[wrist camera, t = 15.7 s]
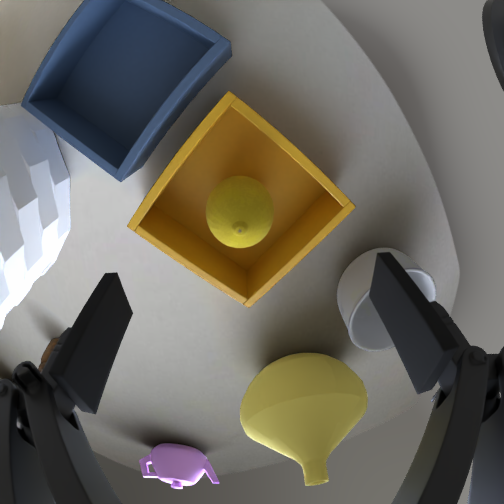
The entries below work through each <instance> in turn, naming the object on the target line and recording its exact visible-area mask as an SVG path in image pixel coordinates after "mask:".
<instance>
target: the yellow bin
mask: <svg viewBox="0 0 504 504" xmlns="http://www.w3.org/2000/svg"><path fill="white" fill-rule="evenodd" d="M232 176H248V177H251V178H253V179H256V180H257V181H258V182H260V183H261V184H263V185H264V187H265V188H266V189H267V190H268V192H269V194H270V196H271V198H272V200H273V206H274V217H273V222H272V225H271V228H270V230H269V232H268V233H267V234H266V236H265V237H264V238H263V239H262V240H261V241H259V242H258V243H256V244H254V245H252V246H250V247H245V248H235V247H230V246H227V245H225V244H223V243H222V242H220V241H219V240H218V239H217V238H216V237H215V236H214V235H213V233H212V232H211V230H210V228H209V225H208V223H207V219H206V205H207V200H208V198H209V195H210V193H211V191H212V190H213V189H214V188H215V186H216V185H217V184H219V183H220V182H221V181H223V180H224V179H227V178H229V177H232ZM354 208H355V205H354V204H353V203H352V202H351V201H350V200H349V199H348V198H347V197H346V195H345V194H344V193H343V192H342V191H341V190H340V189H339V188H338V187H337V186H336V185H335V184H334V183H333V182H332V181H331V180H330V179H329V178H328V177H327V176H326V175H325V174H324V173H323V172H322V171H321V170H320V169H319V168H318V167H317V166H316V165H315V164H314V163H313V162H312V161H311V160H310V159H309V158H307V157H306V156H305V155H304V154H303V153H302V152H301V151H300V150H299V149H298V148H297V147H296V146H295V145H293V144H292V143H291V142H290V141H289V140H288V139H287V138H286V137H285V136H283V135H282V134H281V133H280V132H279V131H278V130H277V129H275V128H274V127H273V126H272V125H271V124H270V123H269V122H267V121H266V120H265V119H264V118H263V117H261V116H260V115H259V114H258V113H257V112H255V111H254V110H253V109H252V108H250V107H249V106H248V105H247V104H246V103H244V102H243V101H242V100H240V99H239V98H237V96H235V95H234V94H233V93H231V92H230V91H228V92H227V93H226V94H225V95H224V96H223V97H222V99H221V100H220V101H219V102H218V103H217V104H216V105H215V106H214V108H213V109H212V110H211V111H210V112H209V113H208V115H207V116H206V117H205V118H204V119H203V121H202V122H201V123H200V124H199V125H198V127H197V128H196V129H195V130H194V132H193V133H192V134H191V135H190V137H189V138H188V139H187V140H186V142H185V143H184V144H183V146H182V147H181V148H180V149H179V151H178V152H177V153H176V155H175V156H174V157H173V159H172V160H171V161H170V163H169V164H168V165H167V167H166V168H165V170H164V171H163V172H162V174H161V175H160V177H159V178H158V179H157V181H156V182H155V184H154V185H153V187H152V188H151V190H150V191H149V192H148V194H147V195H146V197H145V198H144V200H143V201H142V203H141V205H140V206H139V208H138V209H137V211H136V212H135V214H134V215H133V217H132V219H131V220H130V222H129V223H128V225H127V227H128V228H130V229H131V230H132V231H135V233H137V234H138V235H140V236H141V237H142V238H144V239H145V240H147V241H148V242H149V243H151V244H152V245H154V246H155V247H157V248H158V249H159V250H161V251H162V252H164V253H165V254H167V255H168V256H170V257H171V258H173V259H174V260H176V261H177V262H179V263H180V264H181V265H183V266H184V267H186V268H187V269H189V270H190V271H192V272H193V273H195V274H196V275H198V276H199V277H201V278H203V279H204V280H206V281H207V282H209V283H210V284H212V285H213V286H215V287H216V288H218V289H219V290H221V291H223V292H224V293H226V294H227V295H229V296H230V297H232V298H234V299H235V300H237V301H238V302H240V303H242V304H243V305H245V306H246V307H248V308H250V307H251V306H252V305H253V304H254V303H255V302H256V301H258V300H259V299H260V298H261V297H262V296H263V295H264V294H265V293H266V292H267V291H269V290H270V289H271V288H272V287H273V286H274V285H275V284H276V283H277V282H278V281H279V280H281V279H282V278H283V277H284V276H285V275H286V274H287V273H288V272H289V271H290V270H291V269H292V268H293V267H294V266H296V265H297V264H298V263H299V262H300V261H301V260H302V259H303V258H304V257H305V256H306V255H307V254H308V253H309V252H310V251H311V250H312V249H313V248H314V247H316V246H317V245H318V244H319V243H320V242H321V241H322V240H323V239H324V238H325V237H326V236H327V235H328V234H329V233H330V232H331V231H332V230H333V229H334V228H335V227H336V226H337V225H338V224H339V223H340V222H341V221H342V220H343V219H344V218H345V217H346V216H347V215H348V214H349V213H350V212H351V211H352V210H353V209H354Z"/></svg>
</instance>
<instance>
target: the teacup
mask: <svg viewBox="0 0 504 504" xmlns="http://www.w3.org/2000/svg"><path fill="white" fill-rule="evenodd" d="M381 252H390V253H391V254H392V255H393V256H394V257H395V259H396V260H397V261H398V262H399V263H400V265H401V266H402V267H403V268H404V270H405V271H406V272H407V273H408V275H409V276H410V277H411V278H412V280H413V281H414V282H415V284H416V285H417V286H418V287H419V289H420V290H421V291H422V293H423V294H424V295H425V297H426V298H427V299H428V301H429V302H432V301H435V300H436V285H435V282H434V280H433V278H432V277H431V276H430V274H429V273H427V272H426V271H424V270H423V269H422V268H421V267H420V266H419V265H417V264H416V263H415V262H414V261H413V260H412V259H411V258H409V257H408V256H407V255H405V254H404V253H402V252H400V251H398V250H396V249H392V248H376V249H373V250H370V251H367V252H365V253H363V254H362V255H360V256H359V257H357V258H356V259H355V260H354V261H352V262H351V264H350V265H349V266H348V267H347V268H346V269H345V271H344V273H343V274H342V276H341V279H340V281H339V284H338V288H337V302H338V307H339V310H340V313H341V315H342V318H343V320H344V322H345V325H346V327H347V329H348V332H349V336H350V338H351V340H352V342H353V343H354V344H355V345H356V346H357V347H358V348H360V349H363V350H365V351H371V352H373V351H384V350H388V349H391V348H393V347H395V345H394V343H393V341H392V339H391V337H390V335H389V333H388V332H387V330H386V328H385V326H384V324H383V322H382V320H381V318H380V316H379V314H378V312H377V311H376V309H375V307H374V305H373V303H372V301H371V300H370V298H369V292H370V287H371V282H372V277H373V272H374V267H375V261H376V256H377V253H381Z"/></svg>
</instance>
